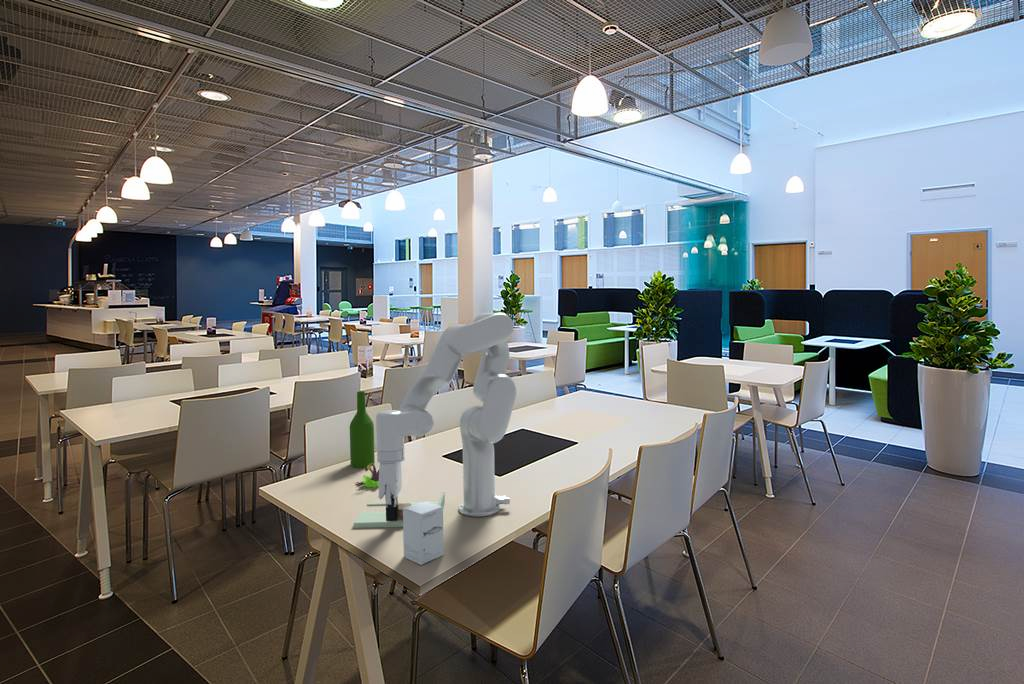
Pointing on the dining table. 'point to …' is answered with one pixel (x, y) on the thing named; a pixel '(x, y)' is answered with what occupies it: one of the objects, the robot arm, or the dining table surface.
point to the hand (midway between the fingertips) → (392, 519)
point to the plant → (373, 479)
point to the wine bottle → (361, 436)
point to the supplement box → (423, 532)
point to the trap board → (384, 516)
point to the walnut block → (400, 509)
